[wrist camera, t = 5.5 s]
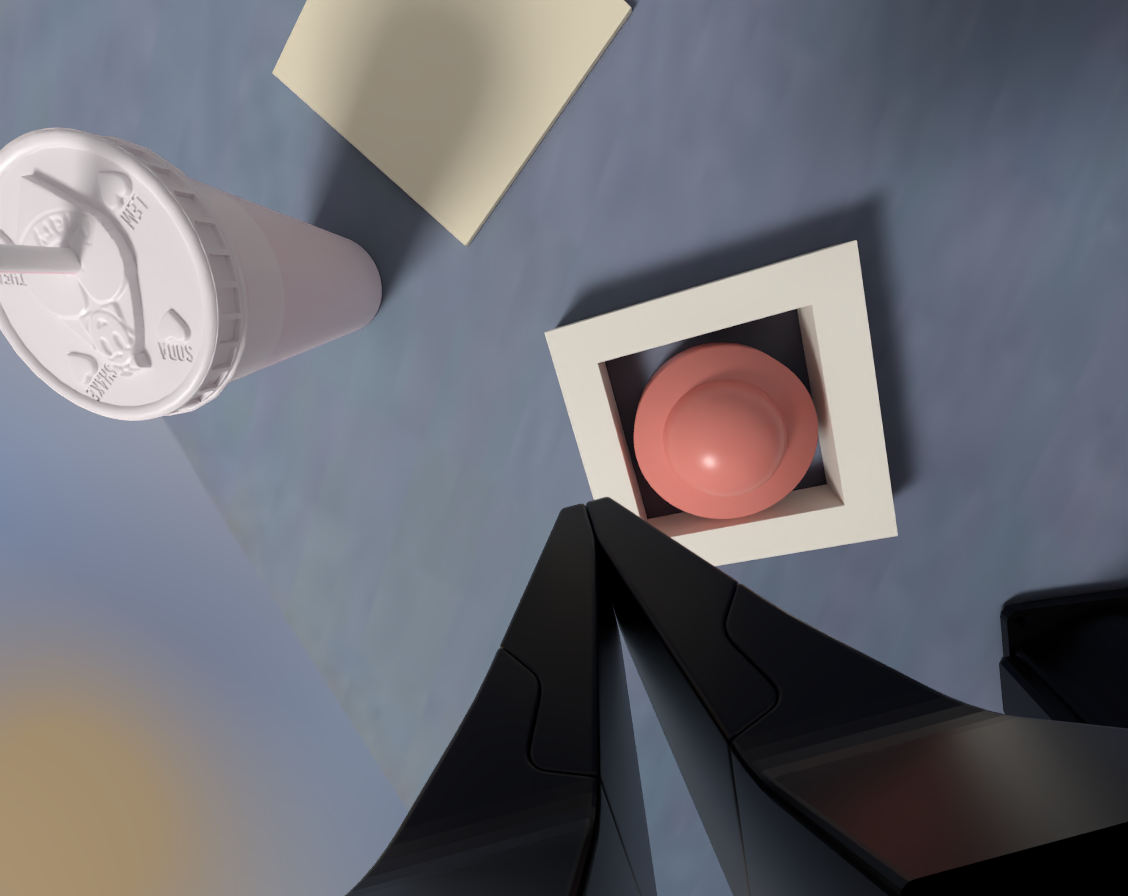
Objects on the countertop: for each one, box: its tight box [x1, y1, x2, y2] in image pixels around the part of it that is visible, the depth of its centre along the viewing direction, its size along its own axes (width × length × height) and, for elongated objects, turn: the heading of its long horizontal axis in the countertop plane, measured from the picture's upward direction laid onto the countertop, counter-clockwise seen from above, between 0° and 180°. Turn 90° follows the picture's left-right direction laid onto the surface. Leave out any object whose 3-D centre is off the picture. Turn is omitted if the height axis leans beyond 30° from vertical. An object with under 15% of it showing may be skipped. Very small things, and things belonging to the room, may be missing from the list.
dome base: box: [545, 240, 898, 566], centre depth 19 cm, size 10×10×2 cm
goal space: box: [272, 0, 632, 246], centre depth 17 cm, size 9×9×1 cm
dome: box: [634, 342, 818, 519], centre depth 17 cm, size 6×6×4 cm
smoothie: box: [0, 128, 382, 421], centre depth 14 cm, size 6×6×14 cm
